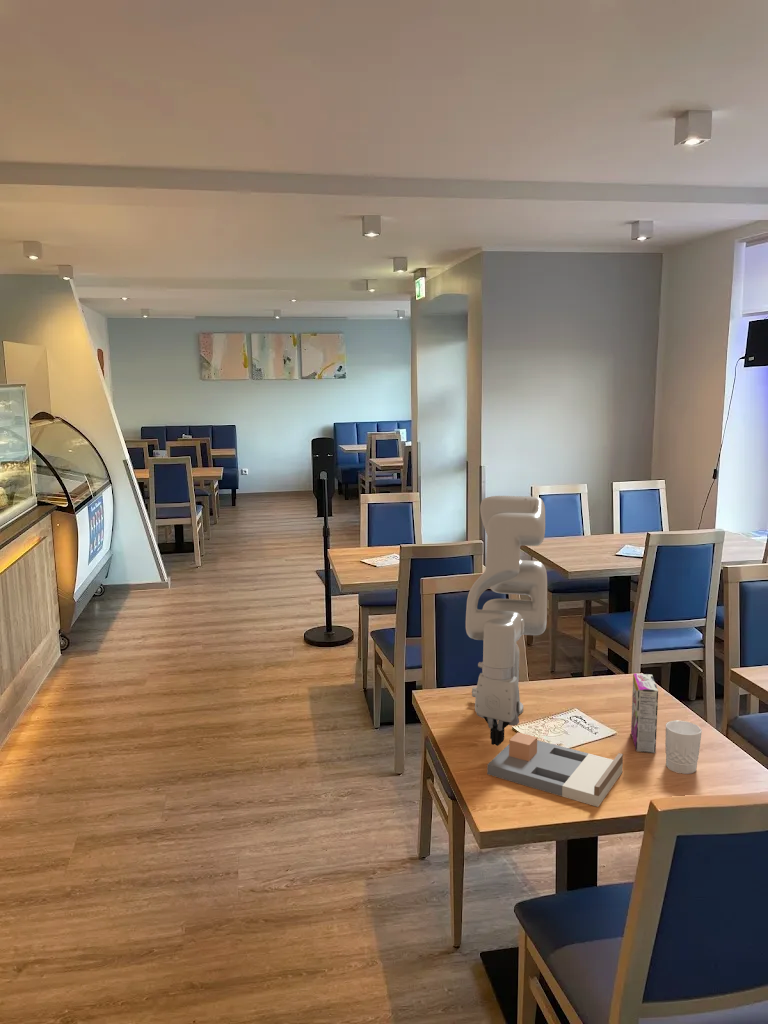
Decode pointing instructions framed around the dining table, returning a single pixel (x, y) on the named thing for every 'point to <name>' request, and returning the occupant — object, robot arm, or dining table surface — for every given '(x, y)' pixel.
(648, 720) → the candy bar box
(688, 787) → the dining table surface
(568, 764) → the board
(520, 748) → the block
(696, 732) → the white cup
